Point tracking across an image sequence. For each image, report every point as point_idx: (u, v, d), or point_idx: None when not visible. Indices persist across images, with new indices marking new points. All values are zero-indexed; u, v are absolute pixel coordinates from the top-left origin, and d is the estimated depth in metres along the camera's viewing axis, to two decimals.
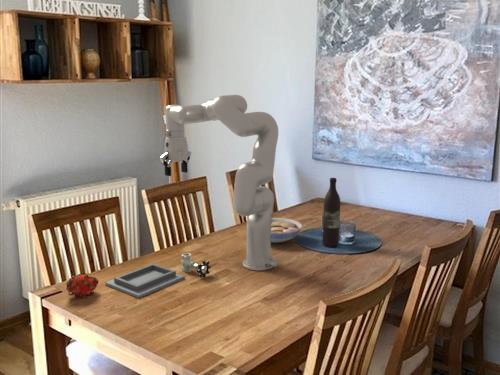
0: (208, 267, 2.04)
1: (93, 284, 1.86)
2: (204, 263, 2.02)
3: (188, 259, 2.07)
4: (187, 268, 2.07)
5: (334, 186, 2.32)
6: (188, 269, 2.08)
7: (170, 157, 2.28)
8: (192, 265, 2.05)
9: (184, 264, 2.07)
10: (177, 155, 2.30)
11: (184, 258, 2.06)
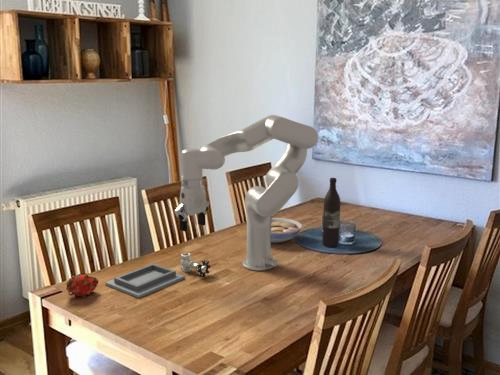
0: (208, 267, 2.04)
1: (93, 284, 1.86)
2: (204, 263, 2.02)
3: (187, 259, 2.07)
4: (186, 268, 2.07)
5: (334, 186, 2.32)
6: (187, 269, 2.08)
7: (186, 210, 1.96)
8: (192, 265, 2.06)
9: (183, 264, 2.07)
10: (194, 207, 1.98)
11: (183, 258, 2.07)
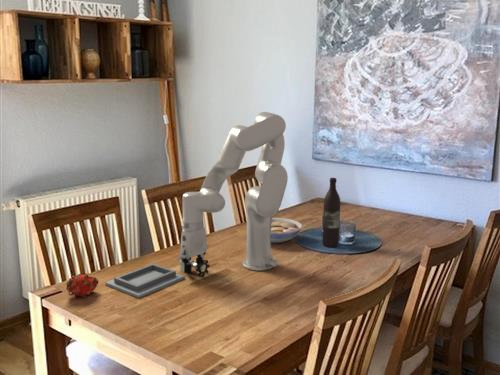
0: (207, 266, 2.04)
1: (93, 284, 1.86)
2: (203, 262, 2.02)
3: (187, 258, 2.07)
4: None
5: (334, 186, 2.32)
6: None
7: (187, 253, 1.99)
8: (191, 264, 2.06)
9: (183, 263, 2.07)
10: (195, 249, 2.01)
11: None
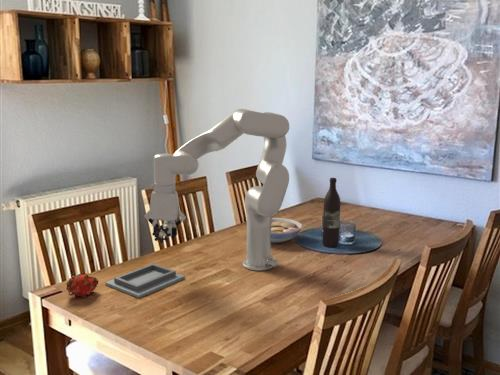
0: (166, 234, 1.93)
1: (93, 284, 1.86)
2: (161, 228, 1.92)
3: (166, 223, 2.00)
4: None
5: (334, 186, 2.32)
6: (166, 233, 2.01)
7: (149, 213, 1.95)
8: None
9: (163, 226, 2.02)
10: (158, 213, 1.94)
11: None
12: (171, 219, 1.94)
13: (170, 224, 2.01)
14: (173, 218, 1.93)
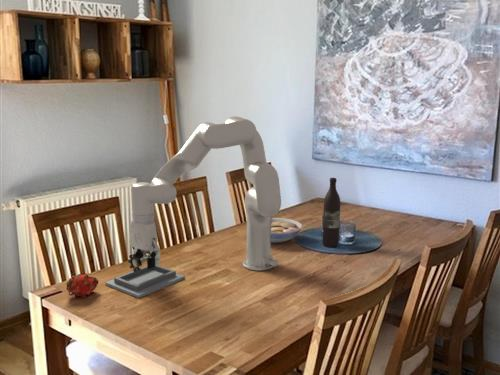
0: (137, 264, 1.91)
1: (93, 284, 1.86)
2: (133, 257, 1.92)
3: (150, 251, 1.99)
4: None
5: (334, 186, 2.32)
6: None
7: None
8: None
9: None
10: (135, 241, 1.94)
11: None
12: (144, 249, 1.91)
13: None
14: (145, 249, 1.91)
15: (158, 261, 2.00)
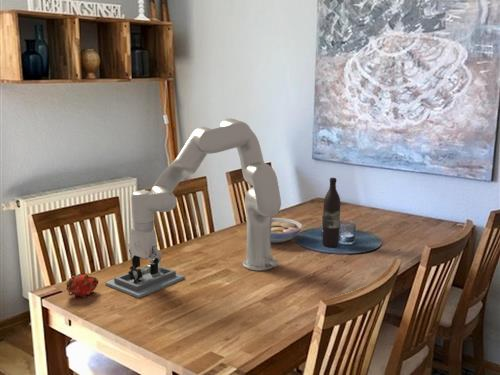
0: (138, 275, 1.92)
1: (93, 284, 1.86)
2: (134, 268, 1.93)
3: (150, 262, 2.00)
4: None
5: (334, 186, 2.32)
6: None
7: None
8: None
9: None
10: (135, 249, 1.94)
11: None
12: (144, 257, 1.92)
13: None
14: (145, 256, 1.91)
15: (158, 272, 2.01)
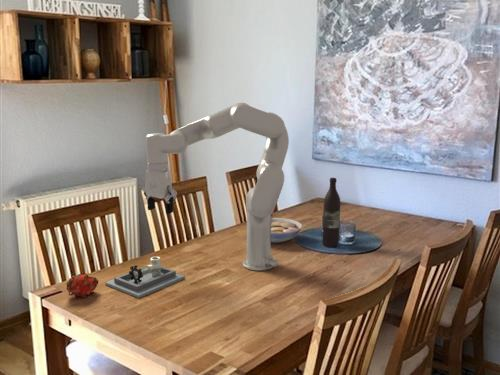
0: (138, 275, 1.92)
1: (93, 284, 1.86)
2: (134, 268, 1.93)
3: (151, 262, 2.00)
4: None
5: (334, 186, 2.32)
6: (151, 273, 2.01)
7: None
8: None
9: None
10: (150, 190, 2.03)
11: None
12: (160, 197, 2.00)
13: (154, 265, 1.99)
14: (161, 196, 2.00)
15: (159, 272, 2.01)
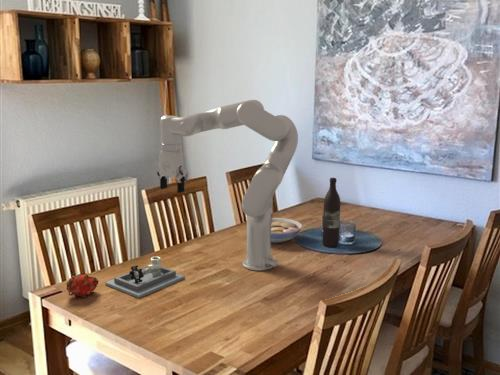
0: (139, 275, 1.92)
1: (93, 284, 1.86)
2: (135, 268, 1.93)
3: (151, 262, 2.00)
4: None
5: (334, 186, 2.32)
6: (151, 272, 2.01)
7: None
8: None
9: None
10: (163, 169, 2.13)
11: None
12: (172, 176, 2.11)
13: (154, 264, 1.99)
14: (173, 175, 2.10)
15: (159, 272, 2.01)
